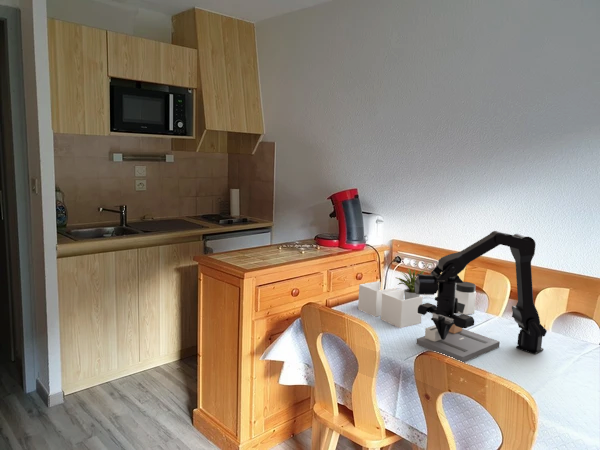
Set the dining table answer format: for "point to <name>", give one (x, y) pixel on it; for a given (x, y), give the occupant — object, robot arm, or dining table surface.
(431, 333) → the left fader
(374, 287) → the white cube planter
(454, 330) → the right fader
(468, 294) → the jar
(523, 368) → the dining table surface
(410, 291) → the house plant
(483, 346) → the mixer board
